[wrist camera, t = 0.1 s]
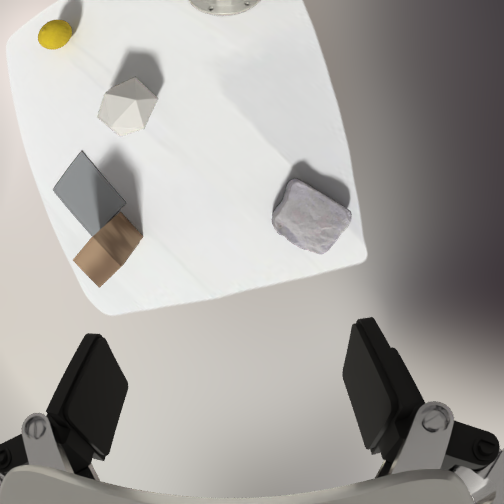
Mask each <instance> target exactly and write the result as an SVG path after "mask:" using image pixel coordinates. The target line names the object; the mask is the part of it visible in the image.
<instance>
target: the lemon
mask: <svg viewBox="0 0 504 504" xmlns="http://www.w3.org/2000/svg"><path fill="white" fill-rule="evenodd" d="M71 34H72V29H71V26H70V25H69V23H67V22H66V21H63V20H52V21H50V22H47V23H46V24H45V25H44V26H43V27H42V28H41V30H40V31H39V34H38V41H39V43H40V44H41V45H42V46H43V47H44V48H47V49H58V48H61V47H62V46H64V45H65V44H66V43H67V42H68V41H69V39H70V37H71Z"/></svg>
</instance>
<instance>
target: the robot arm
mask: <svg viewBox="0 0 504 504" xmlns="http://www.w3.org/2000/svg"><path fill="white" fill-rule="evenodd" d="M189 1H190V3H191V4H192V5H193V6H194V7H195V8H196V9H198V10H200V11H202V12H204V13H207V14H211V15H218V16H227V15H234V14H239V13H242V12H245V11H247V10H249V9H251V8H252V7H254V6H255V5H257V4H258V3H259V2H260V0H189ZM246 5H249V6H246ZM211 9H213V10H212V11H210V10H211ZM343 380H344V383H345V385H346V389H347V392H348V395H349V398H350V401H351V404H352V407H353V410H354V413H355V416H356V419H357V422H358V426H359V429H360V432H361V435H362V438H363V441H364V445H365V447H366V449H370V450H371V452H372V455H373V454H376V453H380V452H381V455H382V458H383V459H384V462H383V464H382V466H381V468H380V469H379V471H378V473H377V475H376V477H375V479H371V480H367V481H363V482H359V483H355V484H350V485H346V486H341V487H336V488H331V489H325V490H320V491H314V492H307V493H301V494H293V495H284V496H274V497H260V498H259V497H258V498H202V497H188V496H177V495H169V494H161V493H154V492H148V491H142V490H136V489H131V488H125V487H121V486H117V485H113V484H108V483H105V482H101V481H100V480H99V478H98V476H97V474H96V472H95V470H94V468H93V466H92V464H91V461H92V458H94V459H97V460H102V461H104V460H105V456H107V455H108V454H109V452H110V448H111V445H112V441H113V438H114V434H115V430H116V427H117V423H118V420H119V417H120V413H121V410H122V406H123V403H124V400H125V397H126V394H127V390H128V382H127V380H126V378H125V376H124V374H123V372H122V371H121V369H120V367H119V365H118V363H117V361H116V359H115V357H114V355H113V353H112V351H111V349H110V347H109V345H108V343H107V341H106V339H105V338H103V337H102V335H100V334H89V333H88V334H86V335H85V336H84V338H83V340H82V342H81V343H80V345H79V347H78V349H77V351H76V352H75V354H74V356H73V358H72V360H71V362H70V363H69V365H68V367H67V369H66V371H65V373H64V375H63V377H62V379H61V381H60V383H59V385H58V387H57V389H56V391H55V393H54V395H53V397H52V400H51V401H50V404H49V406H48V408H47V410H46V412H47V413H48V414H47V416H45V415H44V414H42V413H34V414H31V415H30V416H28V417H27V418H26V419H25V421H24V422H23V425H22V434H20V435H18V436H16V437H14V438H13V439H10V440H8V441H6V442H4V443H2V444H0V504H504V449H502V450H501V449H499V441H498V440H497V438H496V436H495V435H494V434H492V433H490V432H488V431H484V430H481V429H478V428H475V427H472V426H469V425H466V424H463V423H460V422H457V421H454V417H453V413H452V411H451V409H450V408H449V407H448V406H447V405H445V404H443V403H441V402H436V401H433V402H428V403H426V404H425V402H424V400H423V398H422V396H421V394H420V392H419V390H418V388H417V386H416V384H415V382H414V380H413V378H412V377H411V375H410V373H409V371H408V369H407V367H406V366H405V364H404V362H403V360H402V358H401V356H400V355H399V353H398V351H397V350H396V349H395V348H390V346H389V344H388V342H387V340H386V338H385V337H384V335H383V333H382V332H381V330H380V328H379V326H378V325H377V323H376V321H375V319H374V318H373V317H370V318H363V319H358V320H357V322H356V324H353V325H352V329H351V334H350V340H349V344H348V349H347V354H346V358H345V363H344V367H343ZM472 497H473V498H474V500H473V498H472ZM474 502H475V503H474Z"/></svg>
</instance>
